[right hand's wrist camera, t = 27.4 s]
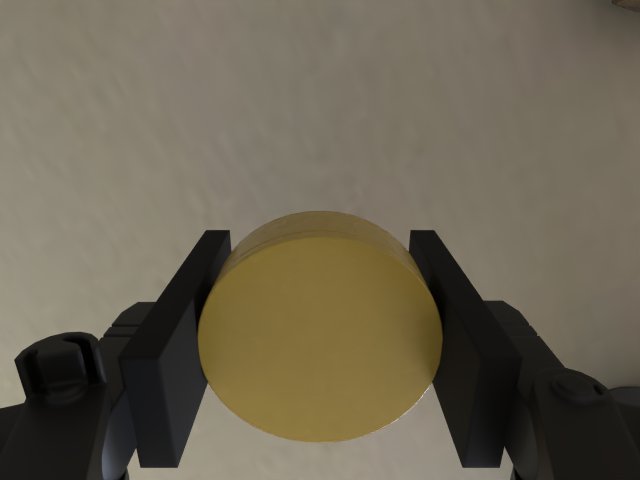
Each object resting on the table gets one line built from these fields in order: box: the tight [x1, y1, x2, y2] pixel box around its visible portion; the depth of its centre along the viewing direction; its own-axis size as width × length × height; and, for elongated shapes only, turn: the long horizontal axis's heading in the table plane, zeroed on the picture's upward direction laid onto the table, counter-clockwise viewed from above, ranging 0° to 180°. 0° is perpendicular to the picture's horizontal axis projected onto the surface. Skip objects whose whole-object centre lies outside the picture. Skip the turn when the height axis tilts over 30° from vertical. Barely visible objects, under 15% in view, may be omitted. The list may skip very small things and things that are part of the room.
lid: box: [197, 211, 443, 443], centre depth 11 cm, size 6×6×2 cm
